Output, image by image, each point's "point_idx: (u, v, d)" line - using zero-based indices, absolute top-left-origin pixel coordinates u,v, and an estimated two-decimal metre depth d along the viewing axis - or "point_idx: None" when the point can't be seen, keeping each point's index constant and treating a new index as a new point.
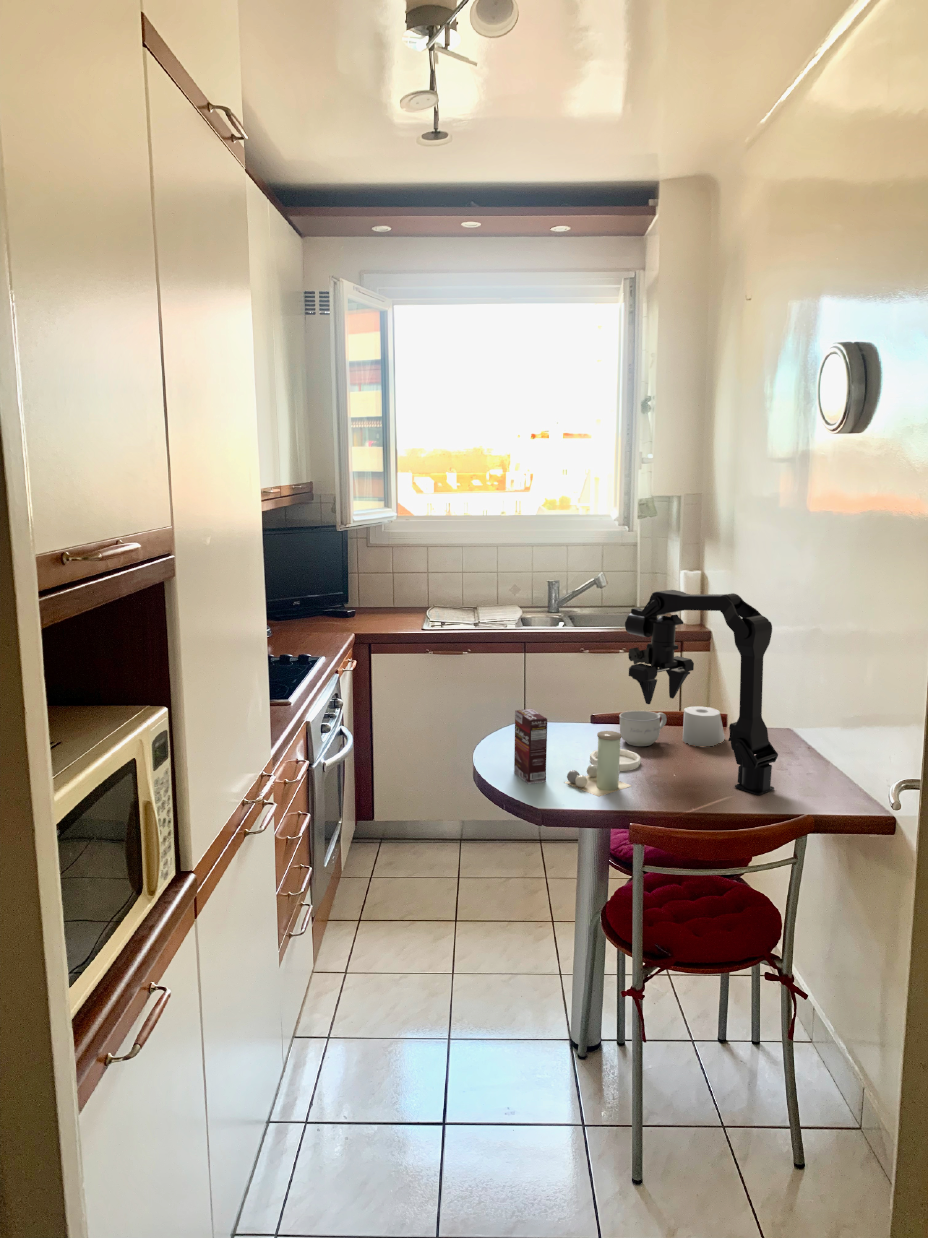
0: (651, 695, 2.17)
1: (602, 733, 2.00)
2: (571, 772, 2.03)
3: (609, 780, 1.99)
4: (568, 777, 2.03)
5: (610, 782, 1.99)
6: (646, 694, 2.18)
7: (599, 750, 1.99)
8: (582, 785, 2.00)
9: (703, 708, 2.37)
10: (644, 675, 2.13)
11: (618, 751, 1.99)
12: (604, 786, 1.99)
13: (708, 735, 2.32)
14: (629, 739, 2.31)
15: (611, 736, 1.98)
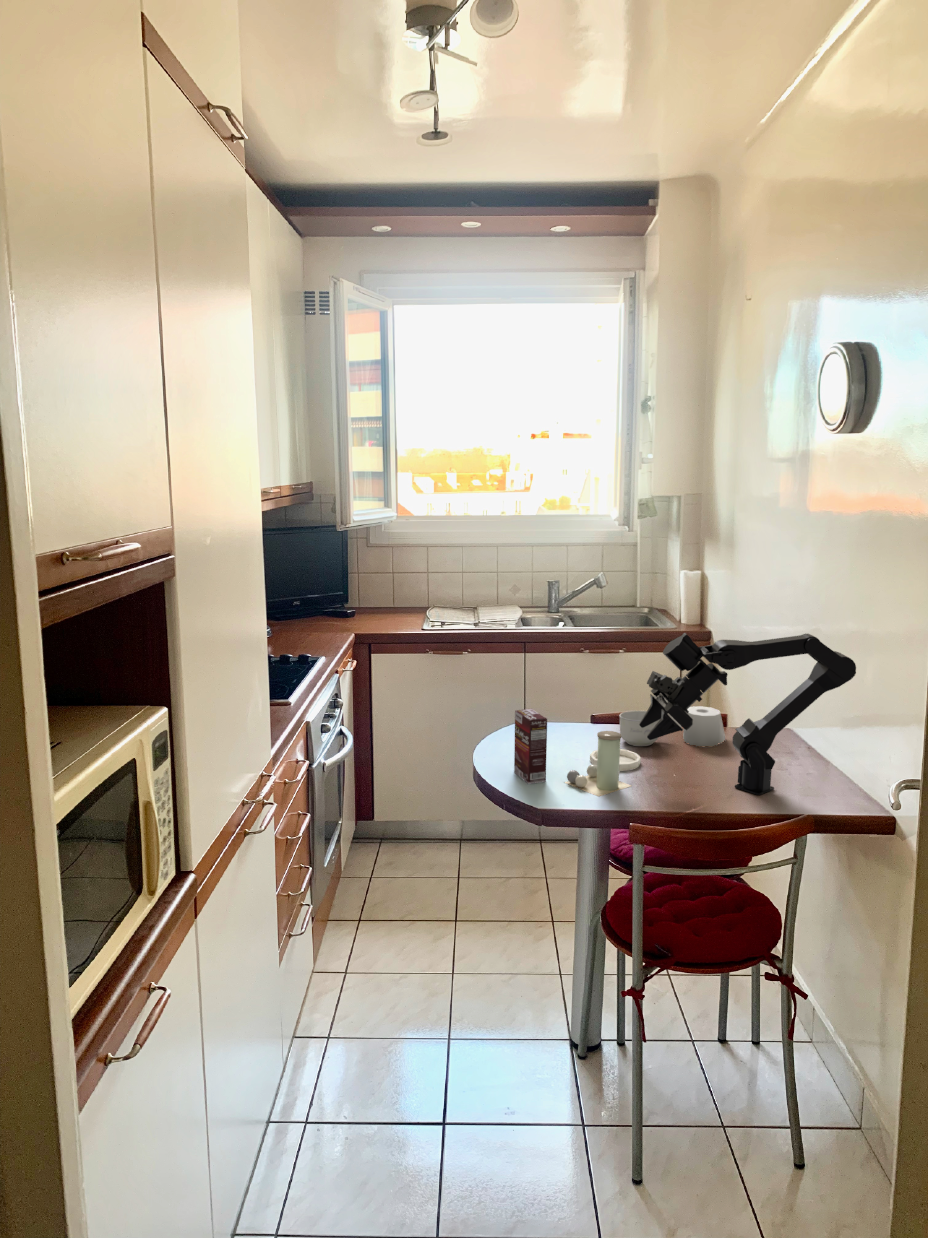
0: None
1: (602, 733, 2.00)
2: (571, 772, 2.03)
3: (609, 780, 1.99)
4: (568, 777, 2.03)
5: (610, 782, 1.99)
6: (658, 732, 1.94)
7: (599, 750, 1.99)
8: (582, 785, 2.00)
9: (704, 708, 2.38)
10: (688, 725, 1.90)
11: (618, 751, 1.99)
12: (604, 786, 1.99)
13: (709, 734, 2.32)
14: (629, 739, 2.31)
15: (611, 736, 1.98)
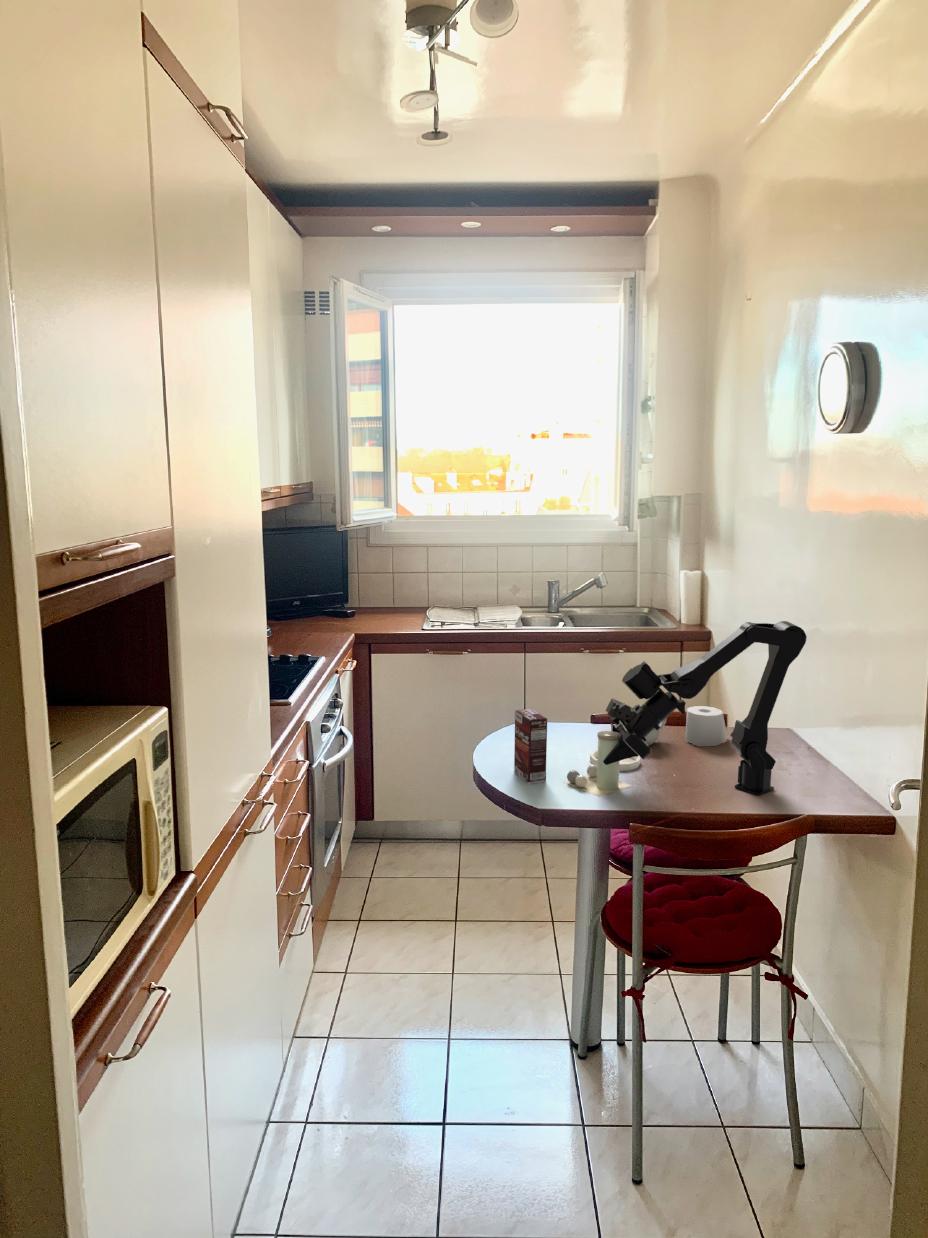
0: None
1: (602, 733, 2.00)
2: (571, 772, 2.03)
3: (609, 780, 1.99)
4: (568, 777, 2.03)
5: (610, 782, 1.99)
6: (614, 757, 1.97)
7: (599, 750, 1.99)
8: (582, 785, 2.00)
9: (706, 708, 2.38)
10: (645, 754, 1.91)
11: None
12: (604, 786, 1.99)
13: (711, 734, 2.32)
14: None
15: (611, 736, 1.98)
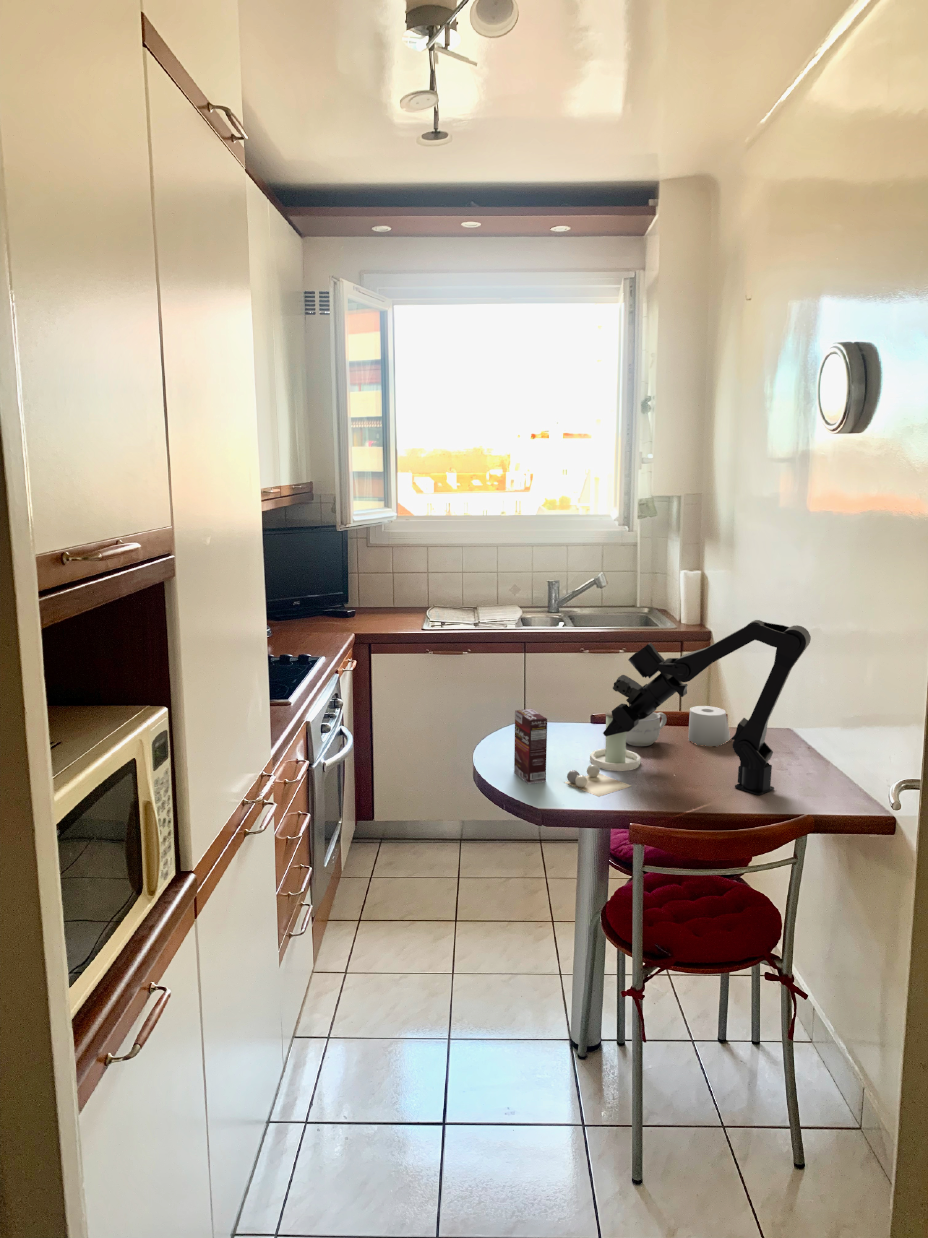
0: None
1: (611, 711, 2.17)
2: (571, 772, 2.03)
3: (611, 754, 2.16)
4: (568, 777, 2.03)
5: (612, 756, 2.16)
6: (611, 730, 2.12)
7: None
8: (582, 785, 2.00)
9: (709, 708, 2.38)
10: (629, 727, 2.05)
11: None
12: (608, 760, 2.17)
13: (714, 734, 2.32)
14: (629, 739, 2.31)
15: None
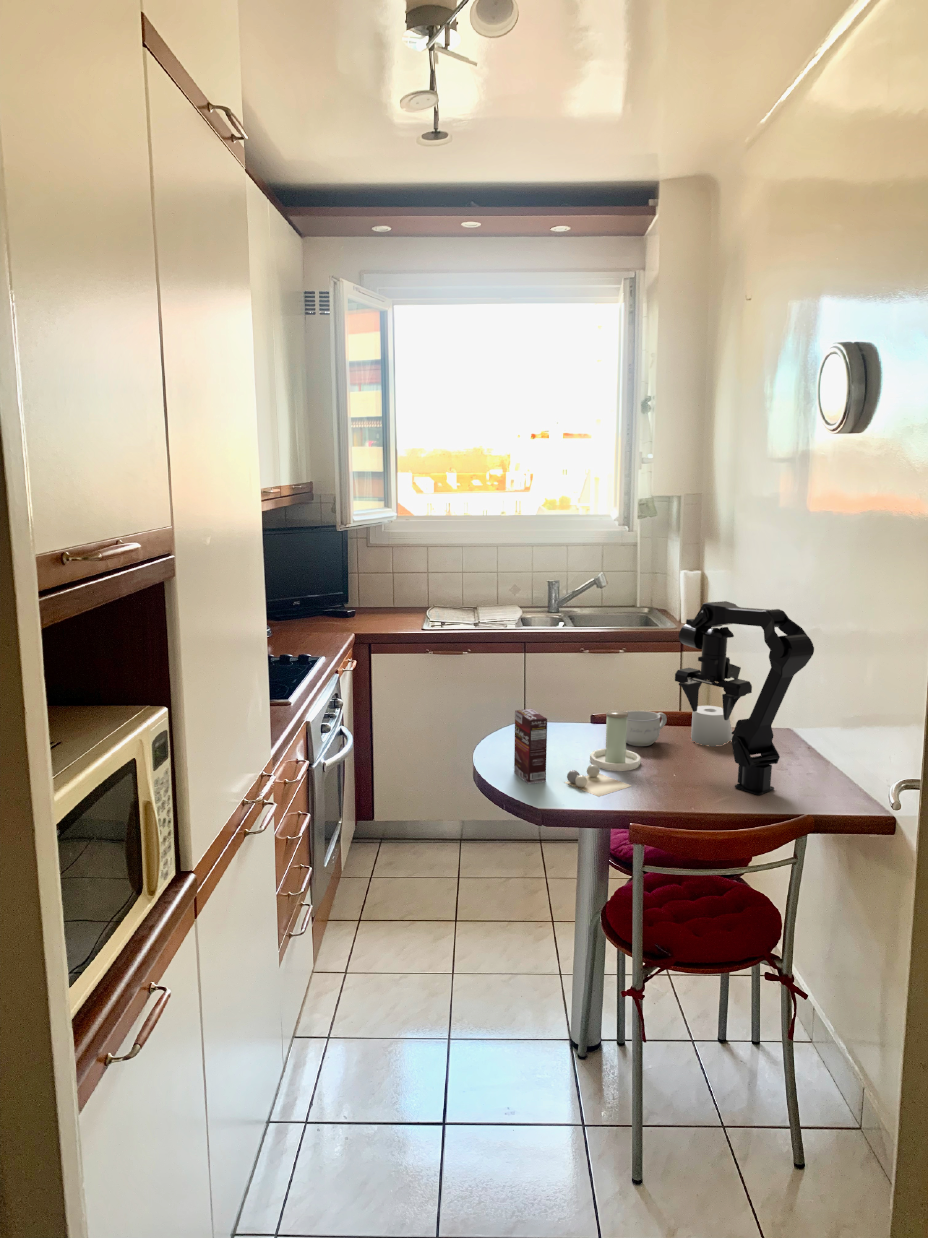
0: (689, 701, 2.18)
1: (612, 711, 2.17)
2: (571, 772, 2.03)
3: (611, 754, 2.16)
4: (568, 777, 2.03)
5: (612, 756, 2.16)
6: None
7: (606, 726, 2.17)
8: (582, 785, 2.00)
9: (711, 707, 2.38)
10: None
11: (621, 729, 2.14)
12: (608, 760, 2.17)
13: (717, 734, 2.32)
14: (629, 739, 2.31)
15: (615, 714, 2.15)
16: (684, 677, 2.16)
